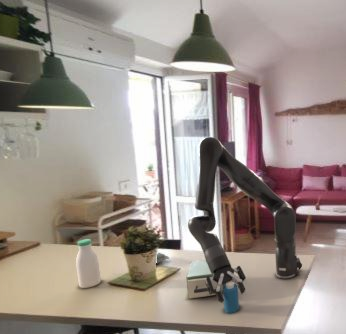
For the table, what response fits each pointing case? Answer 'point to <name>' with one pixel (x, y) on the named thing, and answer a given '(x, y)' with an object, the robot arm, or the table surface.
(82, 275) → the milk bottle
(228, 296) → the detergent bottle
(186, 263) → the table surface
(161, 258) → the packaged food
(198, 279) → the drawer
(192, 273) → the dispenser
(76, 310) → the table surface
